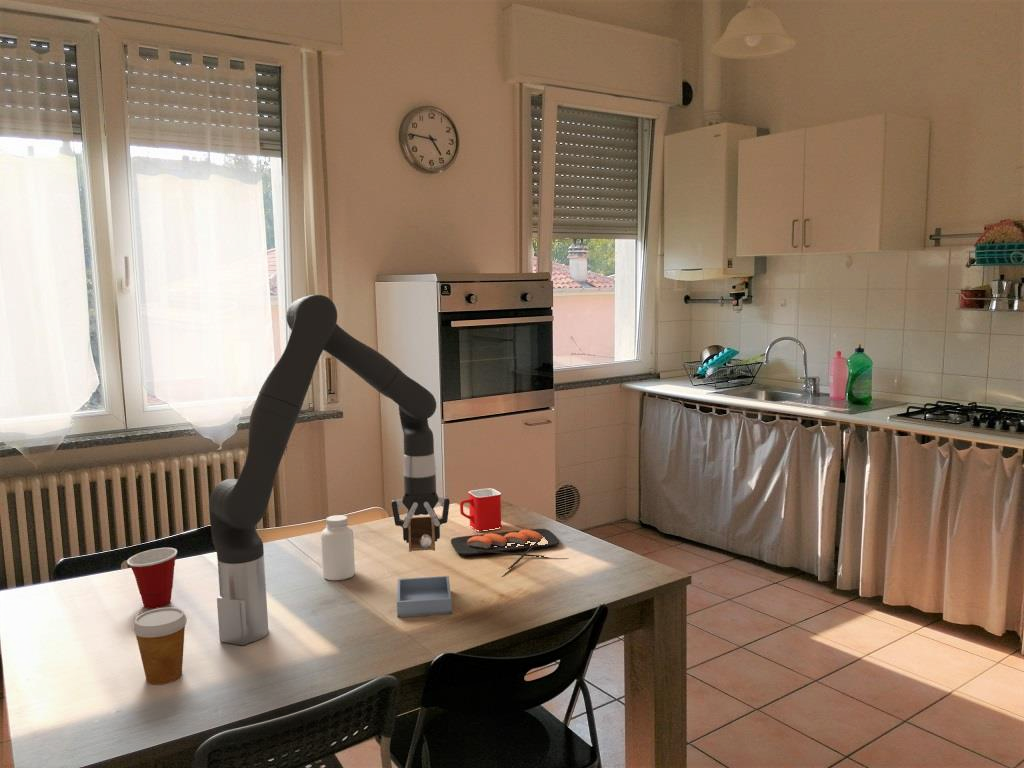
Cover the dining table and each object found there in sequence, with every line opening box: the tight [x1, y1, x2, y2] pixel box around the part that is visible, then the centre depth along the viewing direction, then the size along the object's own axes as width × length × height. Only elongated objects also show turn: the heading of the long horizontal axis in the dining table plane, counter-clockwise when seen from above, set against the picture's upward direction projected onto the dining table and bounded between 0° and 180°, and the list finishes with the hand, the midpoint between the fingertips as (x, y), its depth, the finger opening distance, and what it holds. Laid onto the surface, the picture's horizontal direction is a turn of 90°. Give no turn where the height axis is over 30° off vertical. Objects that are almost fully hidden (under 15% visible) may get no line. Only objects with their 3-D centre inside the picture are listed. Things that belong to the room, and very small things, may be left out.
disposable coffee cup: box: [131, 606, 188, 685], centre depth 155 cm, size 10×10×12 cm
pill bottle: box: [320, 514, 356, 581], centre depth 206 cm, size 8×8×15 cm
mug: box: [459, 487, 502, 531], centre depth 242 cm, size 12×8×11 cm
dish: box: [396, 575, 453, 618], centre depth 188 cm, size 14×12×4 cm
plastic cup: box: [126, 547, 178, 610], centre depth 190 cm, size 11×11×12 cm
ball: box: [419, 535, 432, 548], centre depth 191 cm, size 3×3×3 cm
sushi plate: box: [450, 528, 560, 569], centre depth 220 cm, size 29×30×4 cm
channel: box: [408, 516, 436, 553], centre depth 195 cm, size 9×6×6 cm, turn 7°
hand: (421, 541), depth 195 cm, fingers closed on channel, 6 cm apart
